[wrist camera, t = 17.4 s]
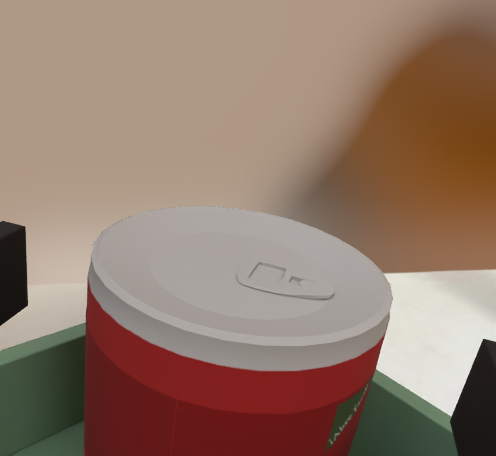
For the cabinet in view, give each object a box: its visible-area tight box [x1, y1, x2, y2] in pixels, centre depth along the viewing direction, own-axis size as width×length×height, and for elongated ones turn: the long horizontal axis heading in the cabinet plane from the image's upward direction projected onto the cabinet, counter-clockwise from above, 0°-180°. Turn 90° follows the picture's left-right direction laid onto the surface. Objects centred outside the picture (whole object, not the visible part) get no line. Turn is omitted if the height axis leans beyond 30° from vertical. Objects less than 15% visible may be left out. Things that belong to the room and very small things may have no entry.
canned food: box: [84, 206, 393, 456], centre depth 14 cm, size 8×8×11 cm
